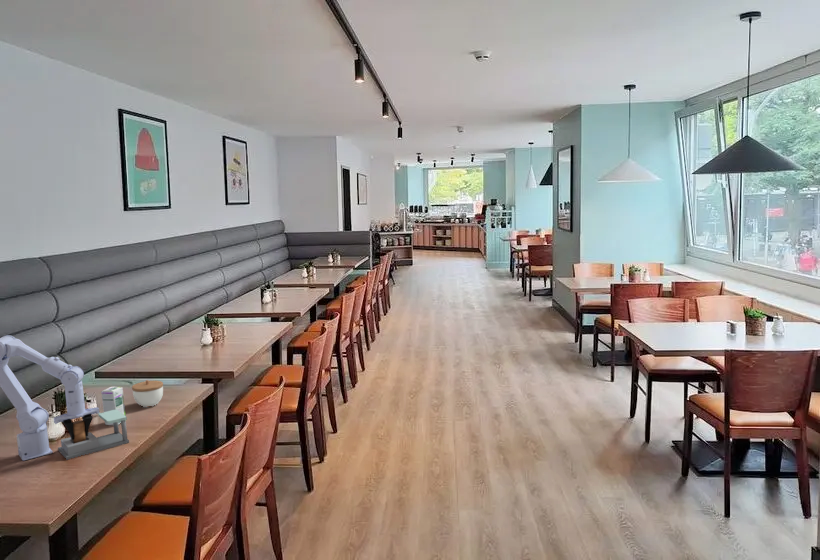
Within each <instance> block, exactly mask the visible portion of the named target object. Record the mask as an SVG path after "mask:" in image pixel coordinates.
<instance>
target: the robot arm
mask: <svg viewBox="0 0 820 560" xmlns="http://www.w3.org/2000/svg"><path fill="white" fill-rule="evenodd" d="M11 357H21V358H24V359H26V360H27V361H30V362H32V363H35V364H37V365H38V366H40V367H41V370H42V371H43V372H45V373H46V374H48V375H51V376H52V377H54V378H56V379H58V380H59V381H60V383H61V384H62V385H63V386H64V393H65V402H66V404H65V405H66V411H67V412H66V413H63V414H60V415H57V416H54V417H52V418H53V423H54V424H55V425H57V424H59V423H61V422H62V424H64V426H65V428H66V429H67V431H68V434H69V437H71V439H72V440H74V432H73V422H74V421H73V420H74V419H79V418H81V419H82V421H84V425H85V434H86V436H88V433H89V429H90V426H91V423H92V420H93V415H97V414H99V413H100V408H99V407H98V406H96V407H91V408H90V407H89V408H86V404H85V396H84V394H85V393H84V386H83V378H84V376H85V372H84V369H82V368H81V367H80V366H77V365H72V364H68V363H67V362H64V361H62V360H60V359H61V358H60V357H58V356H56V357H55V356H51V357H47V356H46V355H44V354H42V353H40V352H39V351H37V350H36V349H34V348H32V347H31V346H29V345H28V344H26V343H24V342H23V341H22V340H21V339H19V338H16V337H15V336H13V335H9V334H7V335H3V336H2V337H0V388H1V389H2V391H3V393H4V394H5V396H6V397H7V399H8V400H9V402H10V403H11V404H12V406H13V407H14V408H15V410H16V415H15V416H16V420H17V421H18V426H19V429H20V430H21V432H20V433H17V434H16V442H17V451H18V456H19V458H20V459H21V461H23V462H24V461H27V460H31V459H35V458H40V457H43V456H48V455H51V454H53V453H54V451H53V450H52V448H50V442H49V433H48V426H47V421H49V417H50V414H49V412H48V411H47V409H45V408H43V407H42V406H41V405H40V404H39V403H38V402H35V401H33V400H32V399H31V396H29V395H28V393H27V392H26V390H25V388H24V387H23V386H22V384H21V383H20V382H19V380H18V379H17V376H16V375H15V374H14V372H13V371H12V370H11V368H10V367H9V365H8V363H9V362H10V361H9V360H10V358H11Z"/></svg>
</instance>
